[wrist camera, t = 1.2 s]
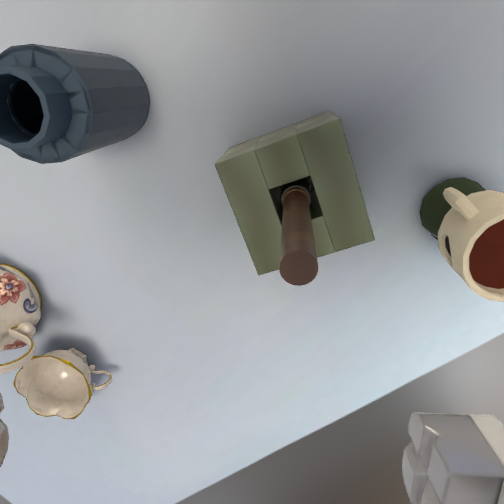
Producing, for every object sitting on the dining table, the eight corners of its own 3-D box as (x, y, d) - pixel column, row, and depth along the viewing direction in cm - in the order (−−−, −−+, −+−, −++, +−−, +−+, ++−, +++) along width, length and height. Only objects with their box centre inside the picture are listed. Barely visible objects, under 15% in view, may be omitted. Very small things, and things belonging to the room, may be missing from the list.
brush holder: (329, 110, 40) (339, 118, 32) (358, 209, 44) (375, 240, 35) (229, 147, 42) (214, 164, 34) (264, 239, 46) (258, 275, 37)
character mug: (386, 193, 43) (423, 238, 31) (447, 141, 41) (514, 166, 29) (455, 268, 45) (515, 337, 33) (516, 222, 43) (605, 278, 31)
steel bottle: (141, 50, 40) (53, 33, 25) (155, 136, 43) (83, 166, 28) (62, 59, 41) (-68, 48, 26) (81, 142, 44) (-27, 175, 29)
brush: (303, 163, 42) (313, 240, 22) (310, 186, 43) (327, 282, 23) (279, 171, 43) (268, 254, 23) (287, 194, 44) (284, 294, 23)
